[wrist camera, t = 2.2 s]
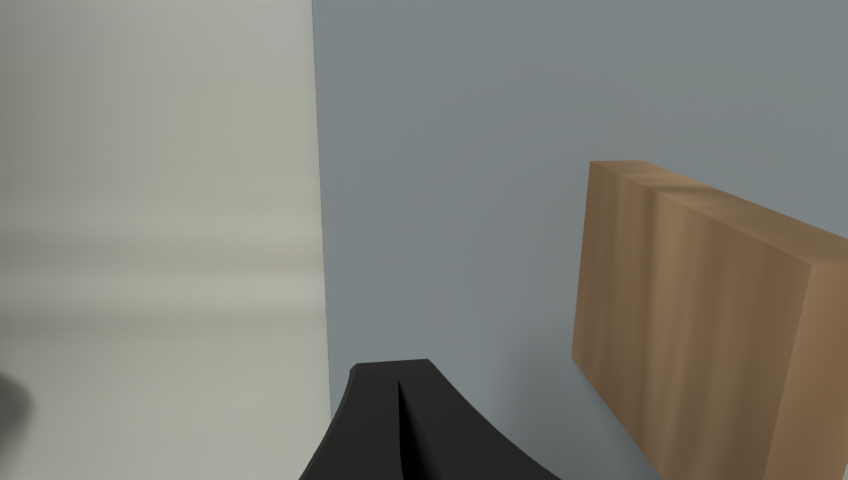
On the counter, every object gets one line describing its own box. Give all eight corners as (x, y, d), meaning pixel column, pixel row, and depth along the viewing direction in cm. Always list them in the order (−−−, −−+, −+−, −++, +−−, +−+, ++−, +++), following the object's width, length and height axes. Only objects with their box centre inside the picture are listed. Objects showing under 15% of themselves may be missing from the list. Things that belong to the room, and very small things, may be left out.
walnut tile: (571, 357, 18) (739, 582, 11) (590, 160, 16) (812, 264, 9) (617, 354, 18) (815, 572, 11) (642, 160, 16) (903, 260, 9)
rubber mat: (335, 503, 19) (335, 512, 19) (309, -48, 14) (309, -51, 14) (840, 455, 21) (848, 463, 21) (972, -28, 16) (987, -30, 16)
